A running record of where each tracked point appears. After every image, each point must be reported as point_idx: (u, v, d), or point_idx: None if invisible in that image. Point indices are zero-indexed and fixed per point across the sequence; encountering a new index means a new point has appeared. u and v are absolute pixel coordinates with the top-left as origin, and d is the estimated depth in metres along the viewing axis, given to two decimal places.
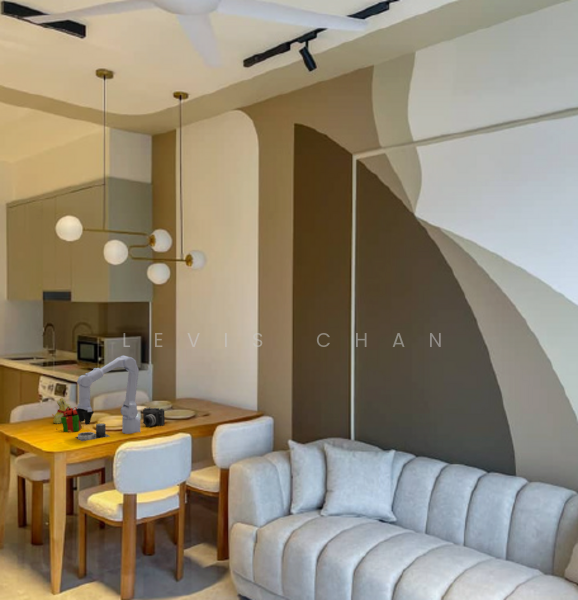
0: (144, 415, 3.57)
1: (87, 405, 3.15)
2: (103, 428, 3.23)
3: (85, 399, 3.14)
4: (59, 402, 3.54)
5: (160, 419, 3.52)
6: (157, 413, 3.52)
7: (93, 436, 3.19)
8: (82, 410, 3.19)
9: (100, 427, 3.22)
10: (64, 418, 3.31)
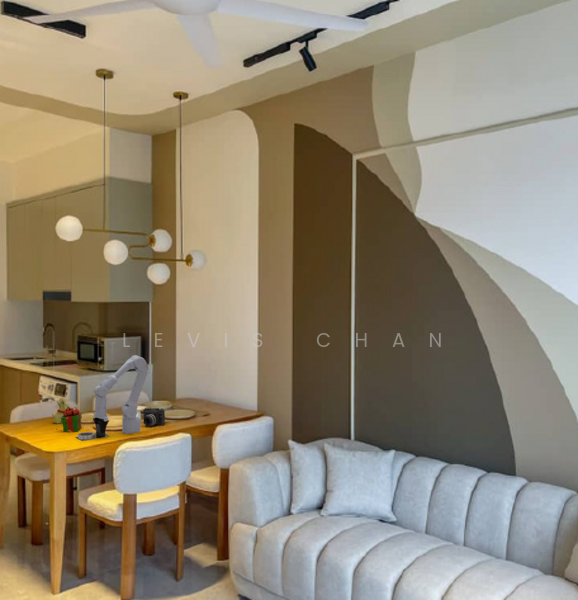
0: (144, 415, 3.57)
1: (103, 414, 3.23)
2: None
3: (101, 408, 3.22)
4: (59, 402, 3.54)
5: (160, 419, 3.53)
6: (157, 413, 3.52)
7: (93, 436, 3.19)
8: (99, 419, 3.27)
9: None
10: (64, 418, 3.31)
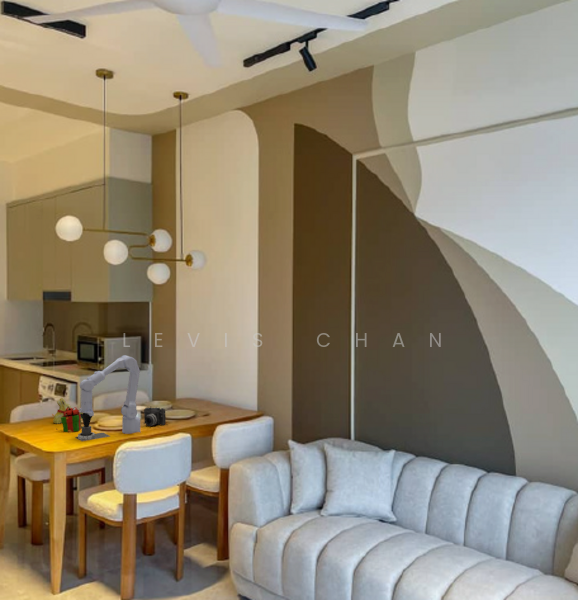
0: (145, 415, 3.58)
1: (89, 409, 3.17)
2: (89, 430, 3.18)
3: (87, 403, 3.17)
4: (59, 402, 3.54)
5: (161, 419, 3.54)
6: (158, 413, 3.53)
7: (93, 436, 3.19)
8: None
9: (86, 429, 3.17)
10: (64, 418, 3.31)
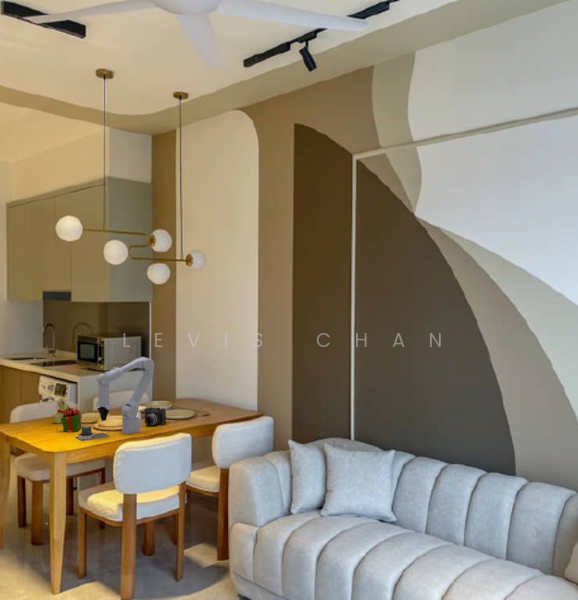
0: (145, 414, 3.58)
1: (106, 403, 3.22)
2: (89, 430, 3.18)
3: (104, 397, 3.21)
4: (59, 402, 3.54)
5: (161, 418, 3.54)
6: (158, 412, 3.54)
7: (93, 436, 3.19)
8: None
9: (86, 429, 3.17)
10: (64, 418, 3.31)
